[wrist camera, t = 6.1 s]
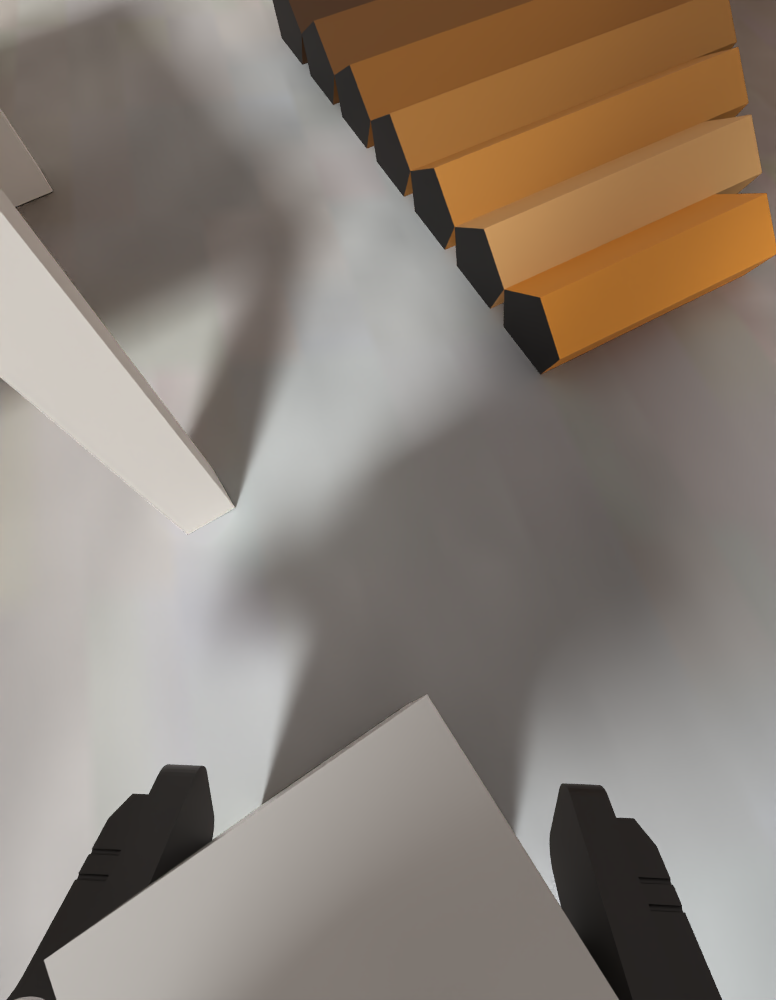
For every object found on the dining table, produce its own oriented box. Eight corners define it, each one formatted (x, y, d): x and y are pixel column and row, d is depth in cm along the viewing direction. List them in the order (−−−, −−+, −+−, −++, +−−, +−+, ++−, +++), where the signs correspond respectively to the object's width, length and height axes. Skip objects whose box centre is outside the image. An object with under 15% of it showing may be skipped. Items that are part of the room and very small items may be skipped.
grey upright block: (408, 703, 16) (427, 695, 7) (510, 869, 14) (719, 1159, 5) (260, 805, 15) (43, 960, 6) (352, 995, 14) (258, 1628, 4)
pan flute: (651, -81, 33) (280, 44, 29) (678, -165, 30) (265, -38, 26) (994, 169, 25) (544, 392, 21) (1082, 89, 22) (571, 335, 17)
